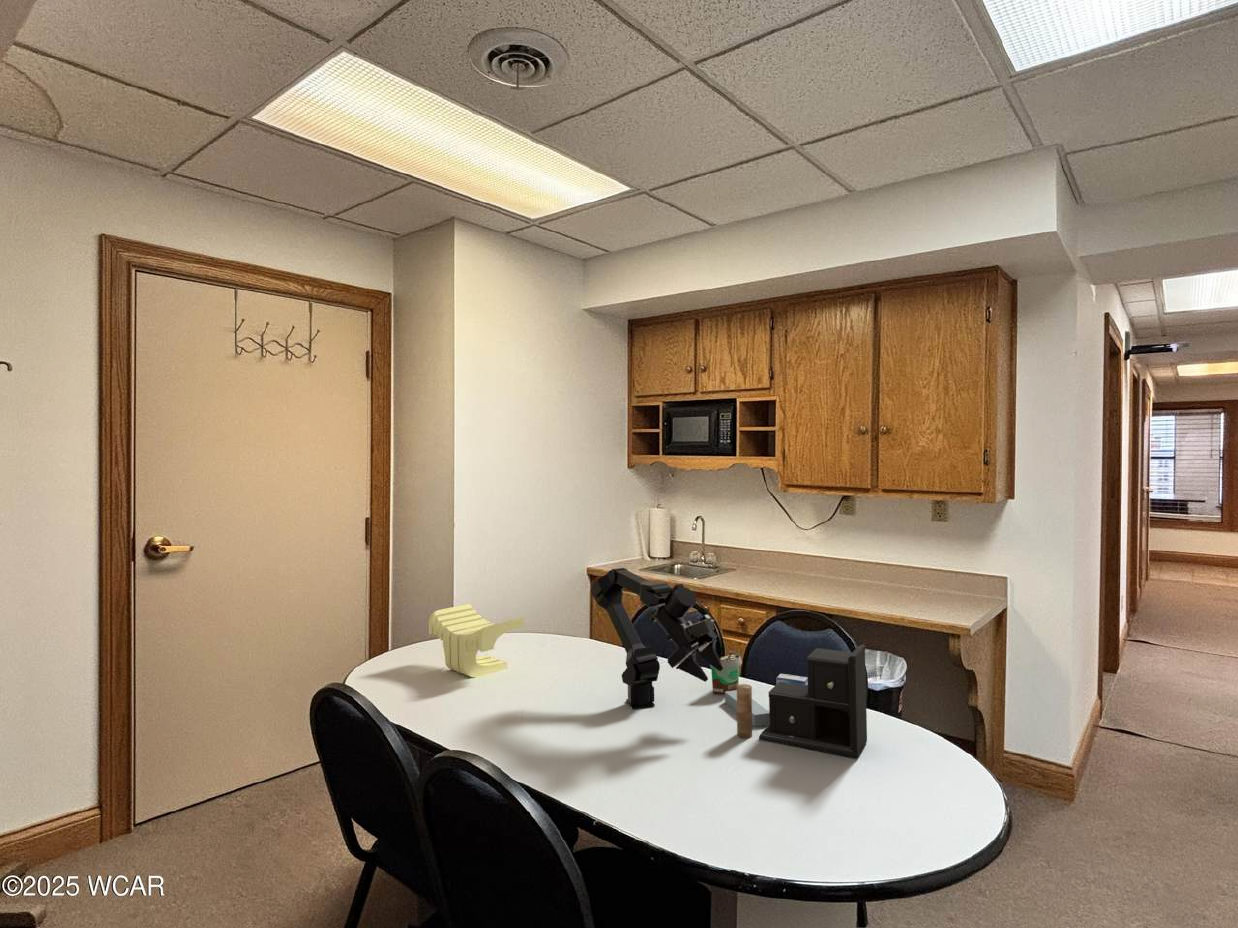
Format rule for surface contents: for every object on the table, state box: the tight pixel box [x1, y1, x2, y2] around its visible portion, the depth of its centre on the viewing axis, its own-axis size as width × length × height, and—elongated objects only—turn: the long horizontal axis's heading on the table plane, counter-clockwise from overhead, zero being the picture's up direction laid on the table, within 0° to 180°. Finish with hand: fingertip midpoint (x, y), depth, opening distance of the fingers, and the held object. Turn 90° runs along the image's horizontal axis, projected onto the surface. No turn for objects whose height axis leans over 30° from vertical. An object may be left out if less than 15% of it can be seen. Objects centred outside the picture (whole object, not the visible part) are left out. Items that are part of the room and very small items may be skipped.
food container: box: [709, 650, 743, 696], centre depth 205 cm, size 12×6×10 cm, turn 143°
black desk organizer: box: [758, 644, 868, 759], centre depth 170 cm, size 23×11×24 cm, turn 60°
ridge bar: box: [724, 690, 770, 728], centre depth 188 cm, size 4×18×3 cm, turn 16°
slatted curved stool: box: [428, 603, 525, 678], centre depth 229 cm, size 30×16×18 cm, turn 46°
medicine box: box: [775, 673, 808, 685], centre depth 191 cm, size 8×4×9 cm, turn 62°
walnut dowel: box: [736, 683, 753, 739], centre depth 174 cm, size 4×4×12 cm
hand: (714, 675), depth 178 cm, fingers open, 9 cm apart
